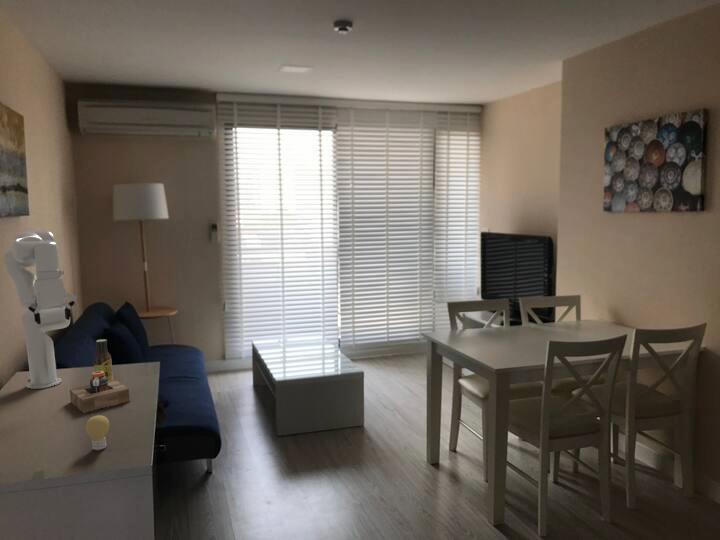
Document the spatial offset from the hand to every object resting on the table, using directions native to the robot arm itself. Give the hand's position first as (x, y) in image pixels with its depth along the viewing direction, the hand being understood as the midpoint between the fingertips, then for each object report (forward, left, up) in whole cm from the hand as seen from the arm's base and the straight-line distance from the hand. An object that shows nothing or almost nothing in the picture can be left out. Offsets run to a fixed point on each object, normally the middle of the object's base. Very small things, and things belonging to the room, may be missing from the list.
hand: (53, 321), depth 210 cm
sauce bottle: (-1, +16, -31) cm, 34 cm away
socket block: (+13, +10, -30) cm, 34 cm away
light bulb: (+57, -3, -31) cm, 65 cm away
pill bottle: (+13, +10, -31) cm, 35 cm away
